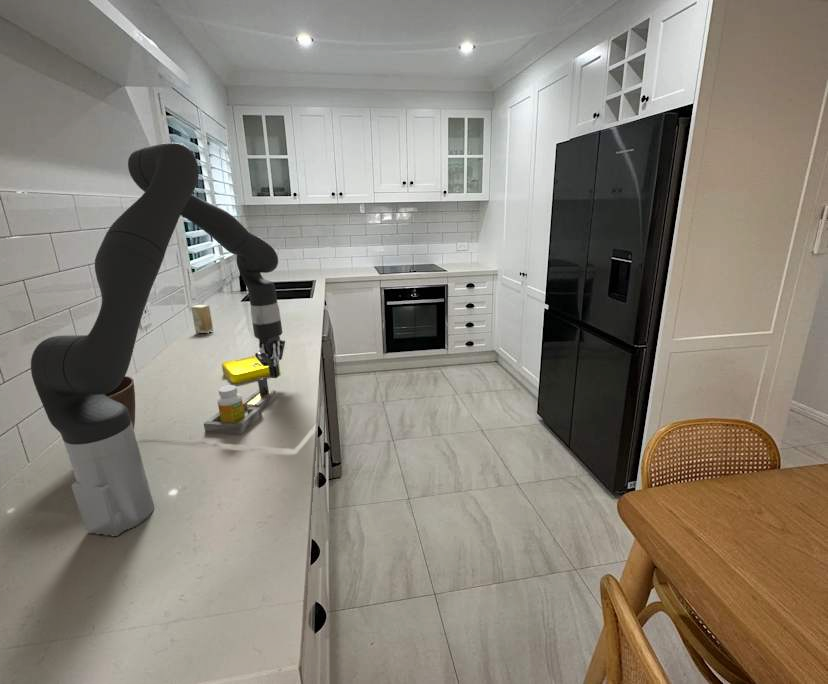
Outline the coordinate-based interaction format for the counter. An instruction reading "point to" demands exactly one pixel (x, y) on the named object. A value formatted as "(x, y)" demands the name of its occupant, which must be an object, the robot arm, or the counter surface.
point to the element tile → (244, 369)
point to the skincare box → (202, 318)
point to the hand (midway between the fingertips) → (275, 377)
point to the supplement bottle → (230, 404)
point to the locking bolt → (263, 392)
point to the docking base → (239, 428)
